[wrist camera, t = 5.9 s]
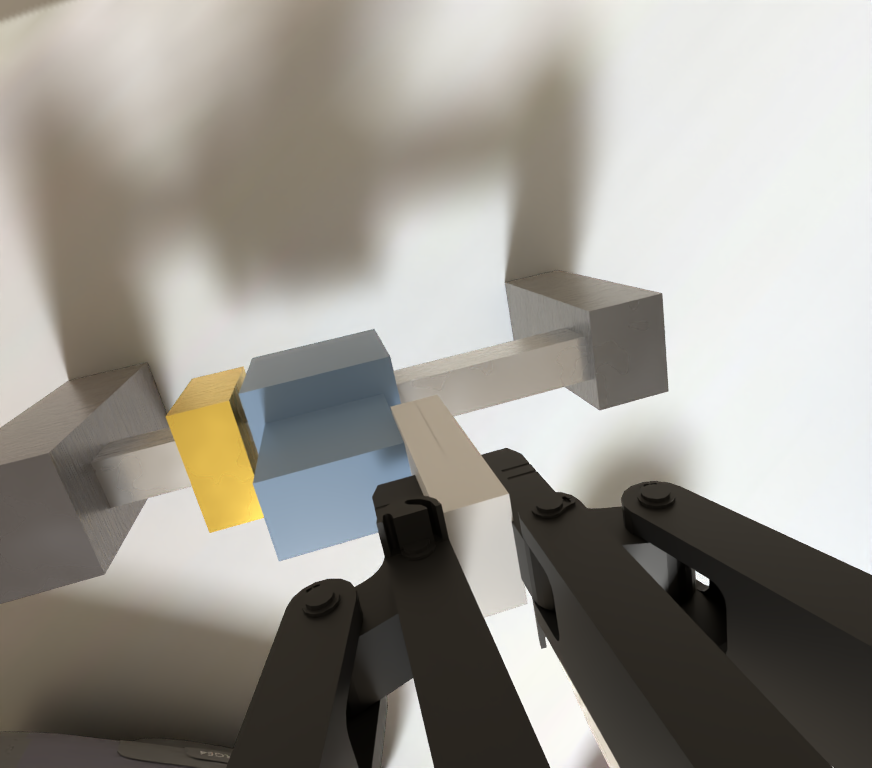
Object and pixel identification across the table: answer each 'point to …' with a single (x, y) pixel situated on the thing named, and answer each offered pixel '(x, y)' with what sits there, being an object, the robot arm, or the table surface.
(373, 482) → the sleeve
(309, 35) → the table surface
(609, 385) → the rail
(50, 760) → the bluetooth speaker
